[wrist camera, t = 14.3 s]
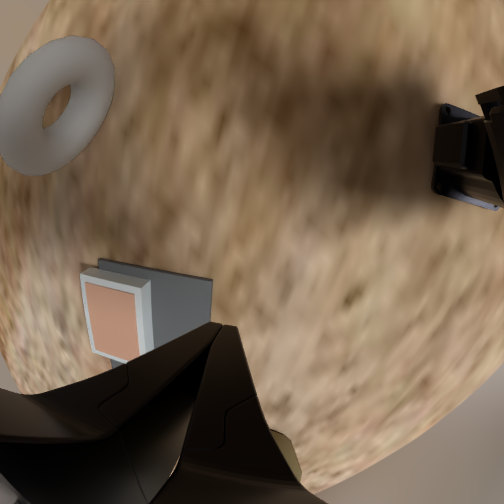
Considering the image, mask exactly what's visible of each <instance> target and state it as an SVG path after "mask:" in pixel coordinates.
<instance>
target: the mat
mask: <svg viewBox="0 0 504 504" xmlns="http://www.w3.org/2000/svg"><path fill="white" fill-rule="evenodd" d="M98 266H99V269H102V270H106V271H111V272H115V273H120V274H124V275H129V276H133V277H138V278H143V279H148V280H151V309H152V327H153V342H154V349H155V348H157V347H159V346H161V345H163V344H165V343H168V342H170V341H172V340H174V339H176V338H178V337H180V336H182V335H184V334H186V333H188V332H190V331H192V330H194V329H196V328H198V327H199V326H201V325H203V324H205V323H207V322H210V319H211V301H212V285H213V280H212V279H207V278H201V277H195V276H190V275H184V274H179V273H173V272H168V271H163V270H157V269H152V268H147V267H142V266H137V265H132V264H127V263H122V262H117V261H112V260H107V259H102V258H100V259H98ZM111 363H112V368H115V367H117V366H119V365H122V364H124V363H122V362H119V361H116V360H113V359H111Z"/></svg>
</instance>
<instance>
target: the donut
mask: <svg viewBox="0 0 504 504" xmlns="http://www.w3.org/2000/svg"><path fill="white" fill-rule="evenodd" d="M67 85H70V86H71V96H70V99H69V102H68V104H67V106H66V108H65V110H64V112H63V113H62V114H61V116H60V117H59V118H58V119H57V120H56V121H55V122H54V123H53V124H52V125H50V126H48V127H46V128H43V117H44V113H45V110H46V108H47V106H48V104H49V102H50V100H51V99H52V98H53V97H54V96H55V94H56V93H57V92H58V91H60V90H61V89H62V88H64V87H65V86H67ZM114 88H115V67H114V64H113V62H112V60H111V57H110V55H109V53H108V51H107V49H105V48H104V47H103V46H102V45H100V44H99V43H98V42H97V41H95V40H94V39H92V38H86V37H80V36H67V37H64V38H60V39H56V40H53V41H50V42H48V43H47V44H45V45H43V46H42V47H40V48H39V49H37V50H36V51H34V52H33V53H31V54H30V55H29V56H27V58H26V59H25V60H24V61H23V62H22V63H21V64H20V65H19V66H18V68H17V69H16V70H15V71H14V72H13V73H12V75H11V76H10V78H9V80H8V82H7V84H6V86H5V88H4V90H3V92H2V94H1V96H0V154H1V156H2V158H3V159H4V161H5V163H6V164H7V166H9V167H10V168H12V169H14V170H15V171H17V172H19V173H21V174H23V175H34V176H42V175H45V174H48V173H51V172H54V171H57V170H58V169H60V168H62V167H63V166H65V165H66V164H67V163H69V162H70V161H72V160H73V159H74V158H75V157H76V156H77V155H78V154H79V153H80V152H82V151H83V150H84V149H85V148H86V146H87V145H88V144H89V142H90V141H91V140H92V138H93V137H94V136H95V134H96V133H97V131H98V130H99V128H100V126H101V124H102V123H103V121H104V119H105V117H106V115H107V112H108V109H109V107H110V104H111V102H112V97H113V92H114Z"/></svg>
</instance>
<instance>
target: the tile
mask: <svg viewBox="0 0 504 504" xmlns="http://www.w3.org/2000/svg"><path fill="white" fill-rule="evenodd" d="M80 280H81V289H82V296H83V303H84V310H85V316H86V322H87V327H88V333H89V338H90V343H91V348H92V352H94V353H96V354H99V355H102V356H105V357H108V358H110V359H113V360H116V361H119V362H122V363H125V364H126V362H128V361H130V360H132V359H134V358H137V357H139V356H141V355H143V354H145V353H147V352H149V351H151V350H153V349H154V342H153V327H152V309H151V280H148V279H143V278H138V277H133V276H129V275H124V274H120V273H115V272H111V271H106V270H102V269H97V268H93V267H90V268H88V269H86V270H85V271H83V272H81V273H80Z"/></svg>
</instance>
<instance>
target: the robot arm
mask: <svg viewBox="0 0 504 504" xmlns="http://www.w3.org/2000/svg"><path fill="white" fill-rule="evenodd" d="M475 96H476V99H477V102H478V104H479V105H481V108H482V111H483V114H484V116H481V117H480V116H478V115H475V114H473V113H471V112H468V111H466V110H463V109H461V108H458V107H456V106H453V105H450V104H447V103H445V104H443V105H441V106H440V110H439V125H438V126H437V127H436V133H435V144H434V153H433V163H434V171H433V178H432V184H431V188H432V191H433V192H434V193H436V194H439V195H443V196H446V197H450V198H454V199H457V200H461V201H464V202H468V203H471V204H474V205H478V206H481V207H484V208H487V209H490V210H494V211H497V210H498V209H499V208H500V207H502V208H504V86H501V87H498V88H495V89H492V90H489V91H486V92H483V93H480V94H478V95H475ZM445 108H447V109H448V114H447V113H446V112H445ZM438 184H440V189H439V190H437V185H438ZM494 205H495V206H494ZM181 451H182V452H181ZM179 456H180V458H179ZM178 458H179V461H178V463H177V466H176V468H175V470H174V472H173V473H172V474H171V472H172V470H173V468H174V466H175V464H176V462H177V460H178ZM170 474H171V476H170ZM169 476H170V477H169ZM0 504H328V503H326V502H325V501H323V500H321V499H320V498H318V497H316V496H315V495H313V494H312V493H310V492H309V491H308V490H307V489H306V488H304V486H303V485H302V484H301V483H300V482H299V480H298V479H297V478H296V476H295V474H294V473H293V471H292V469H291V468H290V466H289V464H288V462H287V460H286V459H285V457H284V455H283V453H282V451H281V450H280V448H279V446H278V444H277V442H276V440H275V438H274V437H273V435H272V433H271V430H270V428H269V426H268V424H267V422H266V420H265V417H264V414H263V411H262V409H261V406H260V402H259V399H258V397H257V393H256V390H255V386H254V383H253V380H252V376H251V373H250V369H249V366H248V362H247V359H246V356H245V352H244V349H243V345H242V341H241V338H240V334H239V331H238V328H237V327H236V326H231V325H222V324H220V323H215V322H207V323H205V324H203V325H201V326H199V327H198V328H196V329H194V330H192V331H190V332H188V333H186V334H184V335H182V336H180V337H178V338H176V339H174V340H172V341H170V342H168V343H165V344H163V345H161V346H159V347H157V348H155V349H153V350H151V351H149V352H147V353H145V354H143V355H141V356H139V357H137V358H134V359H132V360H130V361H128V362H126V364H125V363H124V364H122V365H119V366H117V367H115V368H113V369H111V370H108V371H106V372H104V373H101V374H99V375H96V376H93V377H91V378H88V379H85V380H82V381H79V382H76V383H73V384H70V385H67V386H64V387H60V388H57V389H54V390H51V391H47V392H44V393H40V394H33V395H25V394H18V393H14V392H11V391H8V390H4V389H1V388H0Z"/></svg>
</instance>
